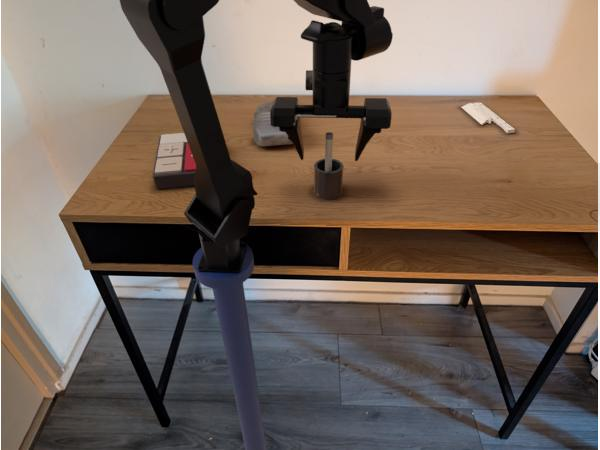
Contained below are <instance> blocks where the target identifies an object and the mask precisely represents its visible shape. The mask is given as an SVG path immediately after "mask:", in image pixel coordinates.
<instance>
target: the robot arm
mask: <svg viewBox="0 0 600 450" xmlns="http://www.w3.org/2000/svg"><path fill="white" fill-rule="evenodd" d="M293 1H294V3H295V4H296V5H297V6H298V7H299V8H302V9H303V10H305V11H307V12H308V13H310V14H312V15H313V16H318V17H321V18H326V19H331V20H334V21H330V22H326V23H324V22H321V21H318V20H315V19H312V20H311V21H310V23H309V25H308V26H307V27H306V28H305V29H304V30H303V31H302V32H301V34H300V38H301V39H302V40H304V41H308V42H312V70H311V69H307V70H305V86H304V87H305V91H312V104H299V100H298V97H297V96H276V97H275V98H274V99H273V100H272V102H273V104H272V107H271V111H270V121H271V126H273V127H279V130H280V131H282V132H286V134H287V135H288V137H289V138H290V140H291V141H292V143H293V144H292V145H293V146H294V148H295V150H296V152H297V155H298V156H299V159H300V160H301V161H303V160H304V158H305V155H304V154H305V149H304V141H303V135H302V124H301V118H308V119H309V118H313V119H315V118H317V119H360V123H359V129H358V130H359V131H358V136H357V140H356V145H355V151H354V161H355V162H358V160H359V159H360V157H361V155H362V154H363V152H364V150H365V148H366V147H367V145H368V144H369V142H370V141H371V139H372V138H373V136H374V135H375V134H381V133H382V130H387V129H390V128H391V126H392V125H391V124H392V108H391V104H390V101H389V100H388V99H387V98H386V97H385V98H384V97H365V98H364V101H363V105H349V104H350V91H351V76H352V75H351V74H352V61H355V62H356V61H361V60H364V59H366V58H370V57H372V56H375V55H379V54H382V53H385V52H386V51H388V49H389V48H390V47H391V45H392V42H393V36H394V33H393V32H392V27H391V24H390V22H389V20H388V19H387V18H386V17H385V8H384V7H382V6H375V5H372V6H370V4H369V2H368V0H293ZM219 2H220V0H119V4H120V8H121V10H122V12H123V14H124V16H125V18H126V20H127V21H128V23H129V25H130V26H131V28H132V30H133V32H134V34H135V35H136V37H137V38H138V40H139V41H140V43H141V45H143V46H144V48H145V49H146V51H147V52H148V54H150V56H151V57H152V58H153V60H154V61H155V62H156V64H157V66H158V67H159V69H160V71H161V74H162V78H163V80H164V82H165V85H166V88H167V90H168V93H169V96H170V99H171V102H172V104H173V107H174V109H175V113H176V115H177V117H178V120H179V123H180V126H181V129H182V131H183V133H184V134H185V137H186V139H187V142H188V145H189V147H190V150H191V153H192V155H193V158H194V161H195V163H196V172H195V176H194V185H195V186H194V191H195V194H194V195H193V197H192V198H191V200H190V202H189V204H188V205H187V207H186V208H185V211H184V212H183V214H184V216H185V218H186V219H187V220H188V221H189V223H191V224H193V225H194V226H195V227H196V228H198V231H197V232H198V236H199V241H200V244H201V246H200V247H202V251H203V255H202V258H201V260H200V263H199V266H198V271H199V272H212V273H236V274H237V273H239V272H240V271H241V267H242V263H243V259H244V255H245V251H246V247H247V246H246V244H247V243H246V242H244V243H239V241H240V239H242V238H243V237H245V236H247V235H248V230H249V227H250V222H251V218H252V213H253V209H255V205H256V201H255V196H257V195H258V192H257V191H256V189H255V188H254V182H253V176H252V173H251V171H250V170H249V169H247V168H245V167H244V166H243V165H241V164H239V163H238V162H236V161H234V160H233V159H231V156H230V151H229V148H228V146H227V142H226V139H225V136H224V132H223V128H222V126H221V121H220V119H219V115H218V112H217V109H216V105H215V102H214V98H213V95H212V91H211V89H210V85H209V81H208V79H207V75H206V72H205V69H204V65H203V57H202V55H203V52H204V51H203V50H204V45H205V41H206V28H205V24H204V23H205V21H204V16H205V15H207V13H209V12H210V11H211V10H212V9H213V8H215V6H216V5H218V3H219ZM335 21H338V22H335ZM339 22H341V24H340V23H339Z"/></svg>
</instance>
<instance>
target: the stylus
mask: <svg viewBox="0 0 600 450" xmlns="http://www.w3.org/2000/svg"><path fill="white" fill-rule="evenodd" d="M324 137H325V141H324V142H325V143H324V145H325V148H324V149H325V150H324V151H325V152H324V154H325V155H324V159H325V172H332V159H333V147H334V146H333V142H334V133H333V132H330V131H328V132H325V136H324Z"/></svg>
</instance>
